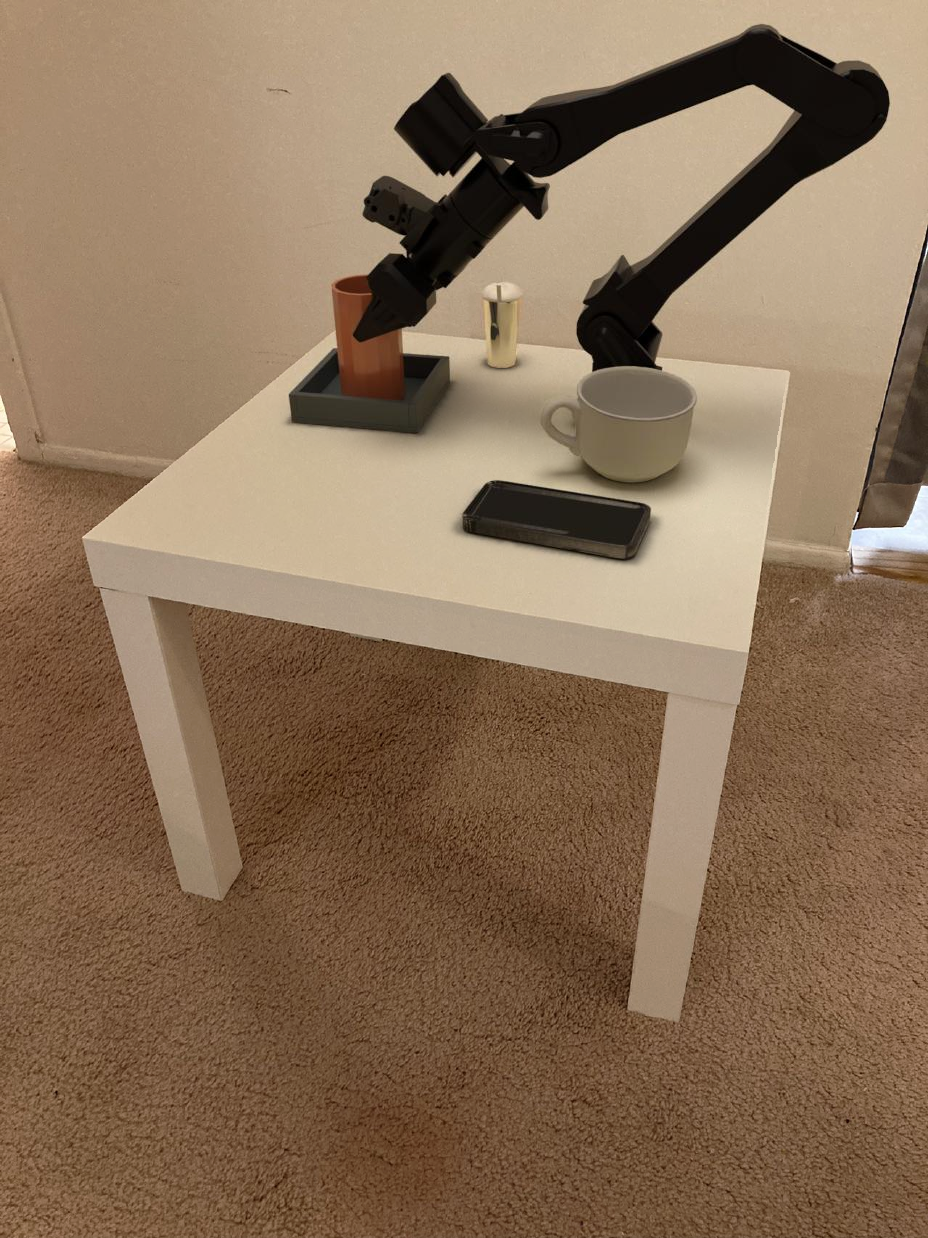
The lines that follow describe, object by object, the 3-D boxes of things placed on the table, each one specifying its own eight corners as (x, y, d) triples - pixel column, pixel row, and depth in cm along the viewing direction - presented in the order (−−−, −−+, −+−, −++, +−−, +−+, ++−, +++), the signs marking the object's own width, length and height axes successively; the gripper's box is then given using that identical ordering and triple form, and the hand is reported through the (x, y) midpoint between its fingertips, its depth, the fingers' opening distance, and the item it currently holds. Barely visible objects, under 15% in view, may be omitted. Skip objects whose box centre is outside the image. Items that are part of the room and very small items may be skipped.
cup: (408, 406, 104) (402, 292, 97) (343, 411, 103) (332, 296, 97) (401, 382, 110) (395, 272, 103) (340, 386, 109) (330, 276, 102)
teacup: (680, 443, 97) (689, 365, 93) (694, 496, 88) (705, 413, 84) (538, 442, 98) (540, 364, 93) (538, 494, 89) (541, 411, 85)
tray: (450, 382, 111) (449, 356, 109) (417, 433, 100) (415, 404, 98) (335, 373, 114) (333, 347, 112) (291, 422, 103) (288, 394, 101)
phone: (489, 478, 89) (653, 504, 85) (489, 489, 90) (652, 515, 85) (457, 519, 83) (633, 549, 79) (458, 530, 84) (632, 561, 79)
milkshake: (478, 372, 113) (477, 283, 108) (485, 355, 118) (484, 269, 112) (517, 373, 113) (519, 285, 107) (523, 357, 117) (524, 270, 111)
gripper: (437, 129, 99) (343, 240, 107) (380, 168, 84) (276, 292, 92) (514, 215, 101) (416, 316, 110) (472, 267, 87) (363, 378, 95)
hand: (370, 323), depth 102 cm, fingers open, 9 cm apart
